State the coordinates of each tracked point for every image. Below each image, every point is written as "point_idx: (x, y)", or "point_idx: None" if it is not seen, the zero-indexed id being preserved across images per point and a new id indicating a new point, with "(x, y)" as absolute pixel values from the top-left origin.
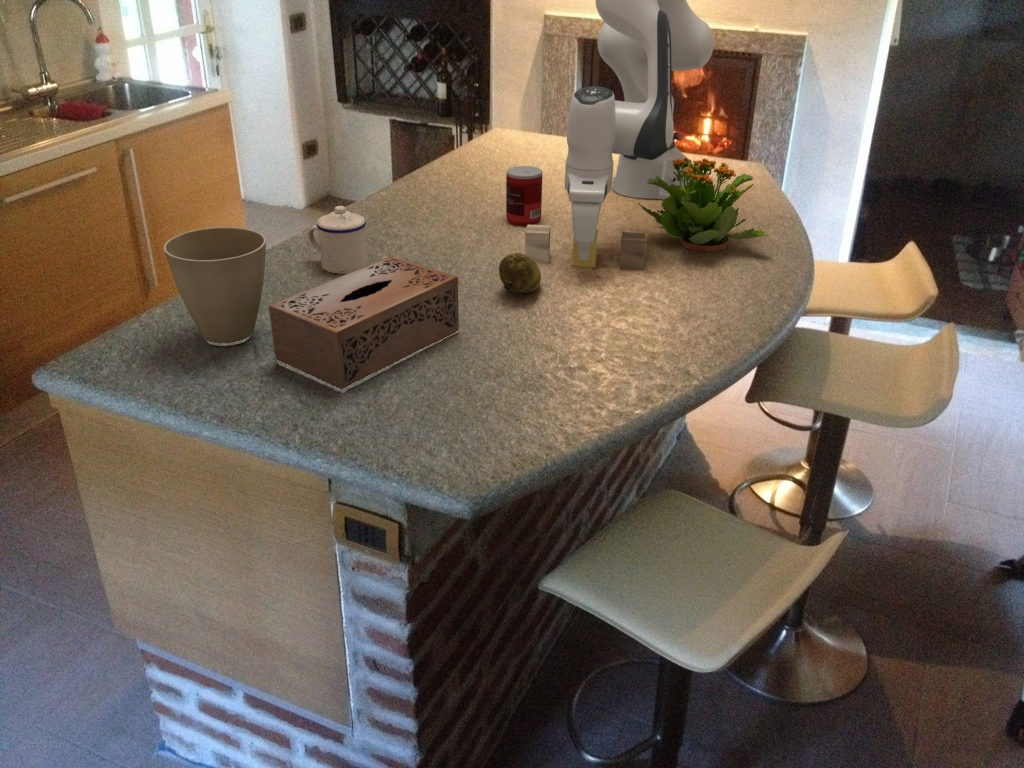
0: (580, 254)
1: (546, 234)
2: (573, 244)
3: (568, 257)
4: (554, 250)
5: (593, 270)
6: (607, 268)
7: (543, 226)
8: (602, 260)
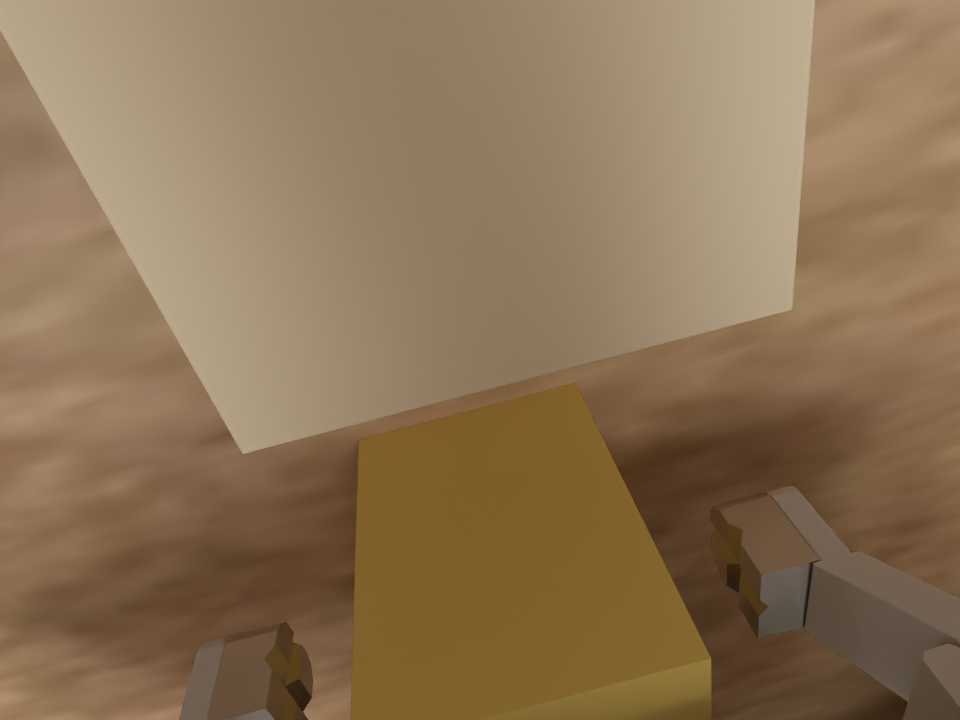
0: (193, 700)
1: (219, 395)
2: (358, 632)
3: None
4: None
5: (334, 593)
6: None
7: (718, 159)
8: None
